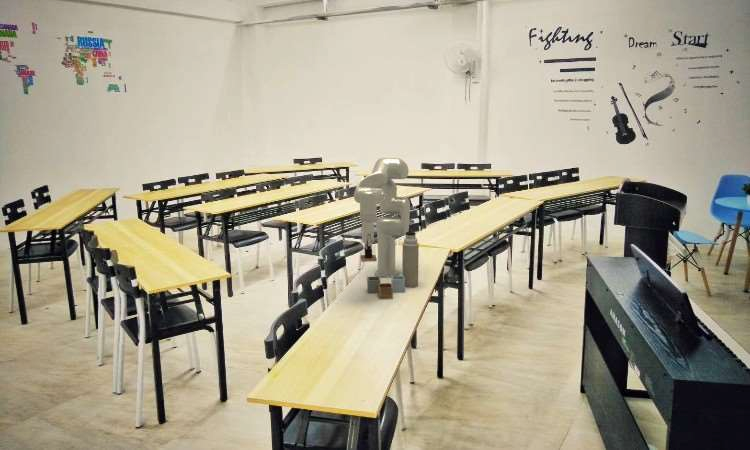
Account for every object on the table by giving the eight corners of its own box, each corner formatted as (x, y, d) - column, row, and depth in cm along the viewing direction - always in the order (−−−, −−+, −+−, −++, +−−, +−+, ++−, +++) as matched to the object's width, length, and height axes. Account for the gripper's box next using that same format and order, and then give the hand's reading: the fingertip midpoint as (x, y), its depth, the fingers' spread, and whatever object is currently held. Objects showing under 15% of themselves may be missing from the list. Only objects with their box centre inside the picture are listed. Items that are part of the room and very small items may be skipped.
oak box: (378, 295, 260) (378, 283, 258) (391, 295, 260) (391, 283, 259) (379, 300, 253) (379, 288, 252) (392, 299, 254) (392, 287, 252)
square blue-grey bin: (391, 289, 268) (391, 276, 266) (403, 289, 268) (403, 275, 267) (392, 293, 262) (392, 279, 260) (404, 293, 262) (405, 279, 261)
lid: (360, 257, 253) (360, 244, 251) (375, 257, 253) (375, 244, 252) (361, 261, 246) (361, 248, 245) (376, 261, 247) (376, 248, 245)
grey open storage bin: (367, 290, 267) (367, 276, 265) (379, 289, 267) (379, 276, 266) (367, 294, 261) (367, 280, 259) (380, 294, 261) (380, 280, 260)
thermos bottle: (418, 284, 275) (419, 230, 269) (416, 289, 268) (417, 234, 261) (403, 283, 277) (403, 230, 271) (401, 288, 269) (401, 233, 263)
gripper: (359, 214, 253) (359, 251, 257) (361, 221, 237) (361, 261, 241) (374, 213, 254) (375, 251, 258) (378, 221, 238) (378, 261, 242)
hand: (368, 256), depth 249 cm, fingers closed on lid, 2 cm apart
